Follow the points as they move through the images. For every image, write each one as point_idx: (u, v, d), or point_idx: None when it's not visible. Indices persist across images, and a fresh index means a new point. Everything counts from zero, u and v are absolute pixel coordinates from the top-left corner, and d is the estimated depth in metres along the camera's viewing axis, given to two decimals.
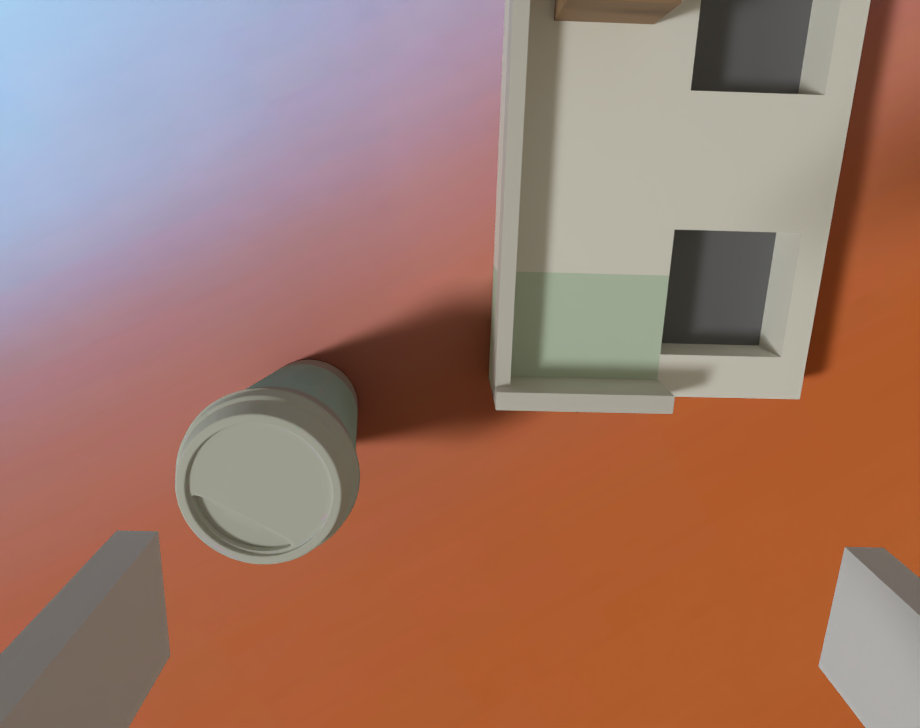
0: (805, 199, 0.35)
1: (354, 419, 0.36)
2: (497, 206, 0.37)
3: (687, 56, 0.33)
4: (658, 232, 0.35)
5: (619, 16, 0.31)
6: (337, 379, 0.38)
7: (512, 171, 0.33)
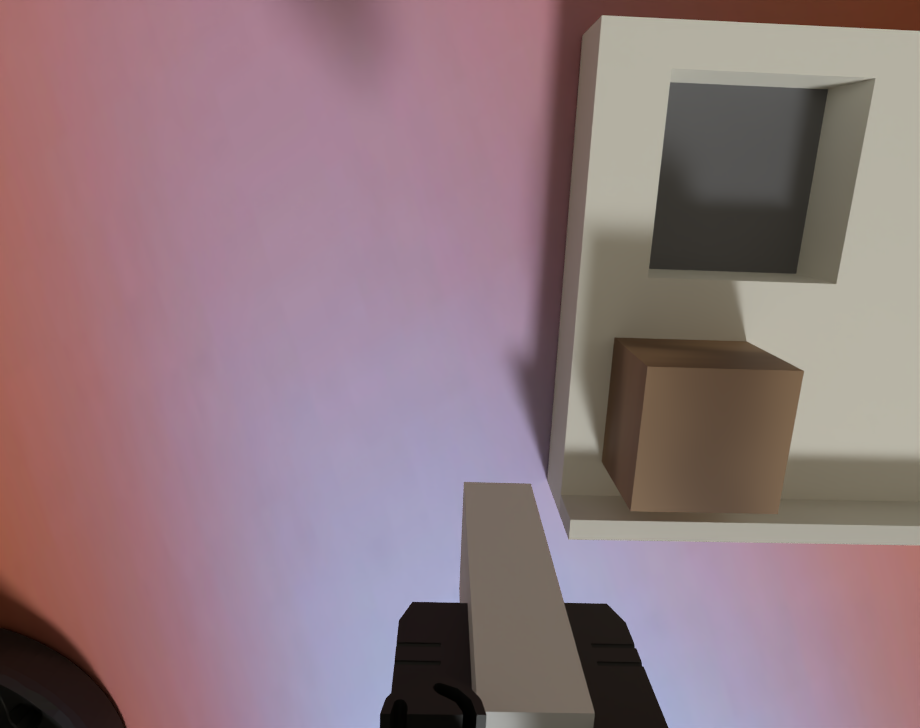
0: None
1: None
2: None
3: (792, 292, 0.24)
4: None
5: None
6: None
7: None
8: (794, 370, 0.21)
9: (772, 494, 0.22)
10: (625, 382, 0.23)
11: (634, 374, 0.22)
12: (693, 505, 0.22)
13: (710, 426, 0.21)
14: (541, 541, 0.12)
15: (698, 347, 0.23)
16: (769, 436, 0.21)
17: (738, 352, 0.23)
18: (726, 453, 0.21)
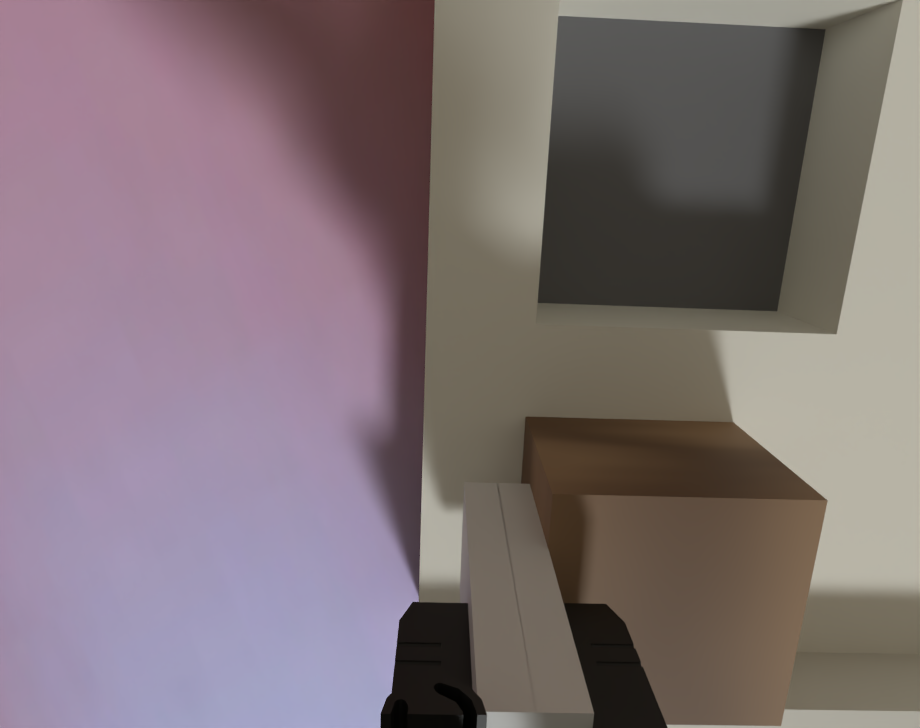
0: None
1: None
2: None
3: (766, 347, 0.15)
4: None
5: None
6: None
7: None
8: (809, 499, 0.12)
9: (771, 696, 0.13)
10: None
11: (540, 494, 0.13)
12: None
13: (665, 591, 0.12)
14: (541, 541, 0.12)
15: (653, 438, 0.14)
16: (766, 605, 0.12)
17: (717, 450, 0.14)
18: (693, 632, 0.13)
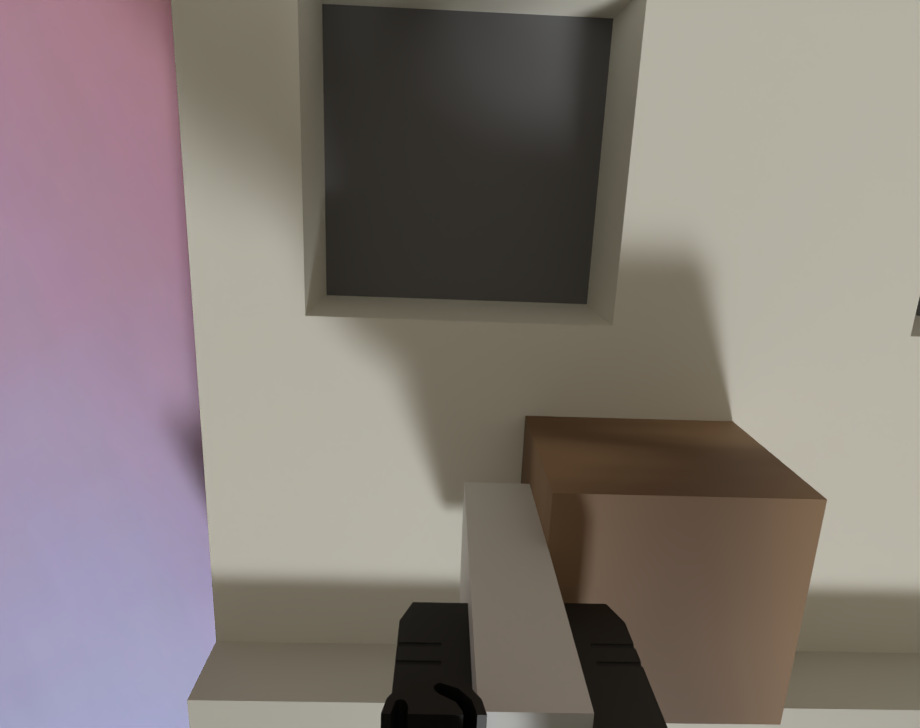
0: (901, 4, 0.13)
1: None
2: None
3: (542, 339, 0.15)
4: (910, 372, 0.15)
5: None
6: None
7: None
8: (809, 498, 0.12)
9: (771, 695, 0.13)
10: None
11: (540, 492, 0.13)
12: None
13: (665, 590, 0.12)
14: (541, 541, 0.12)
15: (653, 438, 0.14)
16: (766, 604, 0.12)
17: (717, 449, 0.14)
18: (693, 631, 0.13)
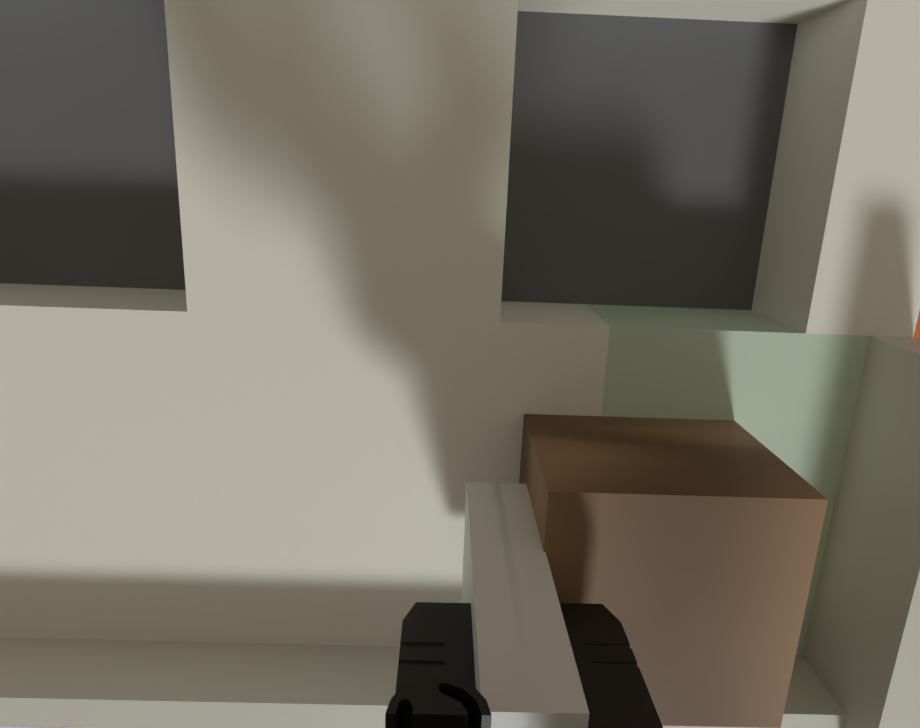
0: None
1: None
2: None
3: (116, 325, 0.15)
4: (507, 360, 0.15)
5: None
6: None
7: (368, 720, 0.15)
8: (810, 498, 0.12)
9: (771, 697, 0.13)
10: (530, 496, 0.14)
11: (537, 491, 0.13)
12: None
13: (663, 591, 0.12)
14: (537, 541, 0.12)
15: (653, 436, 0.14)
16: (765, 605, 0.12)
17: (717, 448, 0.14)
18: (691, 632, 0.12)
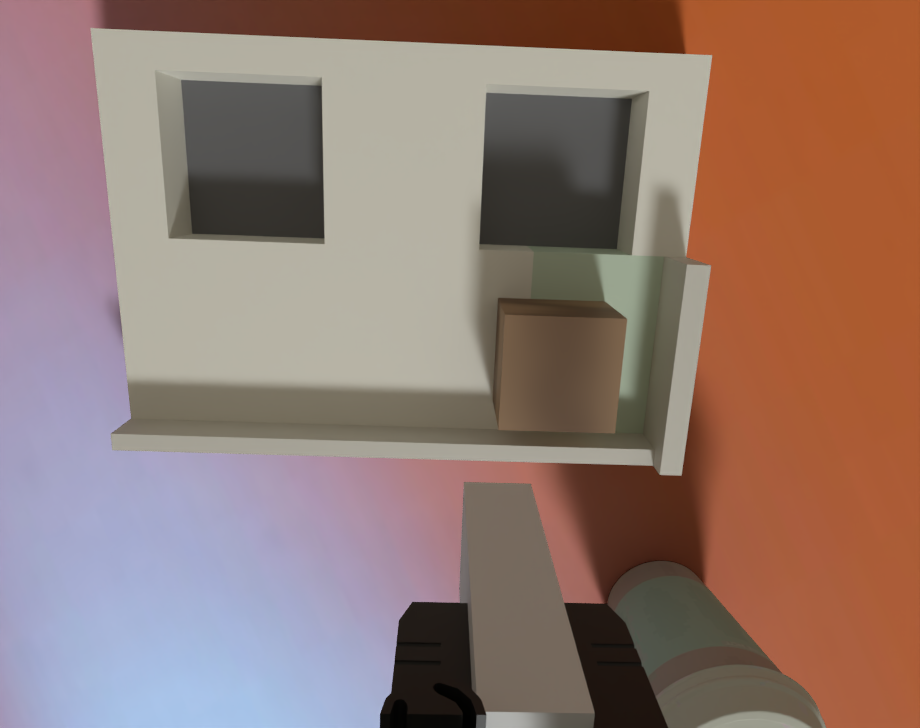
0: (444, 85, 0.28)
1: (676, 605, 0.33)
2: None
3: (289, 250, 0.30)
4: (482, 268, 0.30)
5: None
6: (630, 598, 0.35)
7: (413, 451, 0.30)
8: (619, 318, 0.27)
9: (609, 417, 0.28)
10: (499, 331, 0.29)
11: (501, 323, 0.28)
12: (547, 425, 0.28)
13: (557, 363, 0.27)
14: (541, 541, 0.12)
15: (560, 304, 0.29)
16: (603, 370, 0.27)
17: (589, 307, 0.29)
18: (570, 383, 0.27)
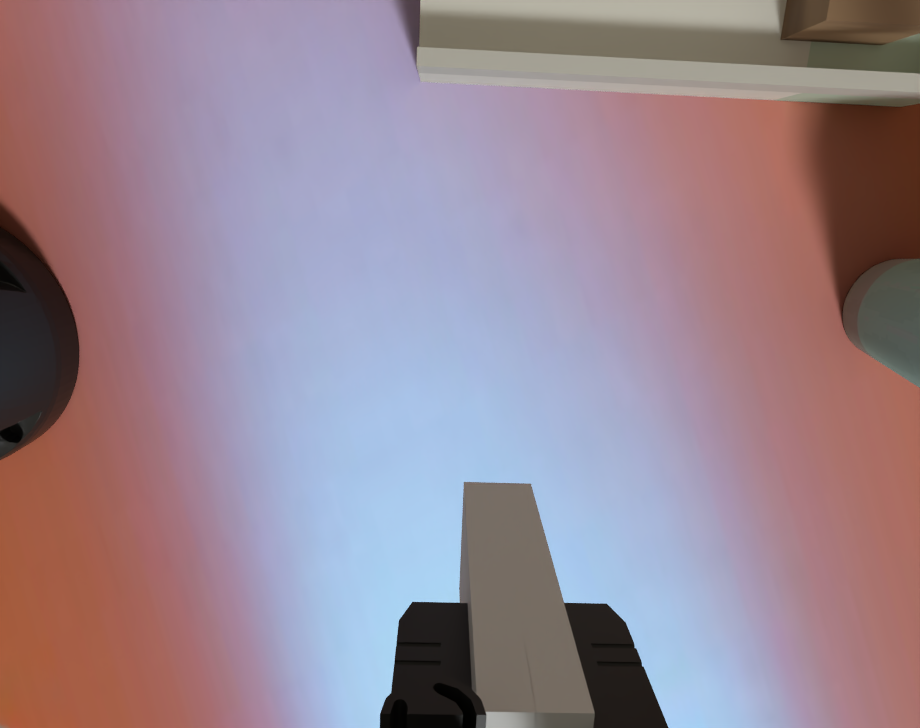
0: None
1: None
2: (719, 94, 0.34)
3: None
4: None
5: None
6: (886, 277, 0.35)
7: (715, 73, 0.30)
8: None
9: None
10: None
11: None
12: (875, 16, 0.28)
13: None
14: (541, 541, 0.12)
15: None
16: None
17: None
18: None
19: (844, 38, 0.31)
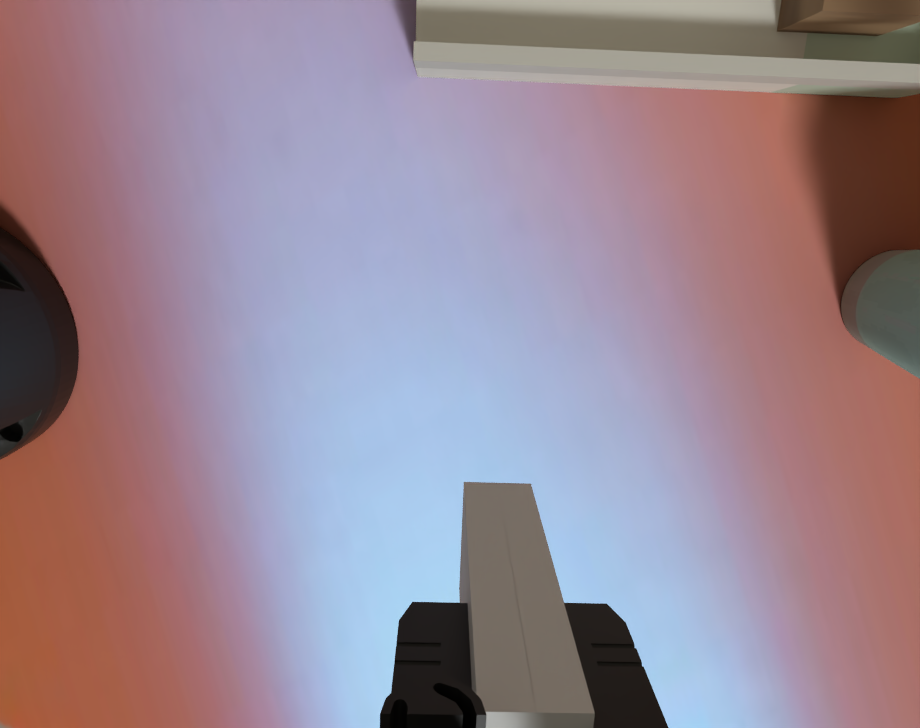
0: None
1: None
2: (716, 87, 0.34)
3: None
4: None
5: None
6: (884, 268, 0.35)
7: (711, 65, 0.30)
8: None
9: None
10: None
11: None
12: (871, 6, 0.28)
13: None
14: (541, 541, 0.12)
15: None
16: None
17: None
18: None
19: (840, 29, 0.31)
